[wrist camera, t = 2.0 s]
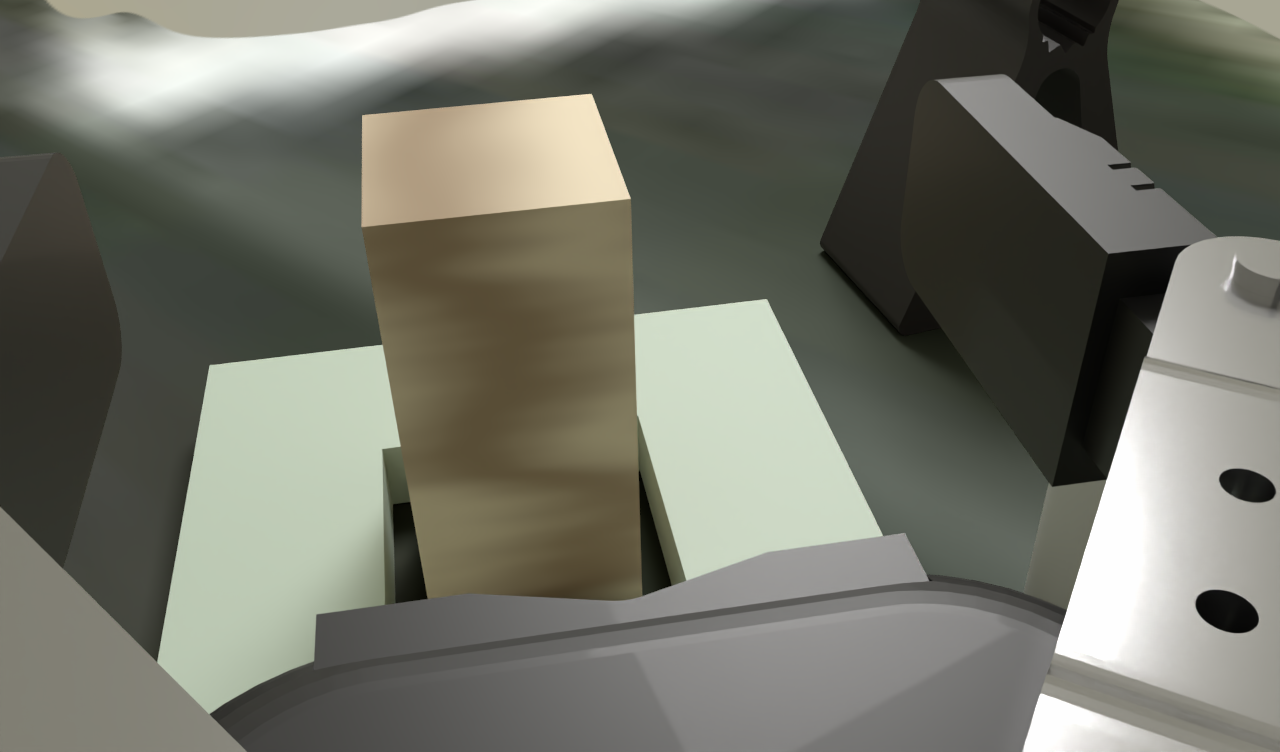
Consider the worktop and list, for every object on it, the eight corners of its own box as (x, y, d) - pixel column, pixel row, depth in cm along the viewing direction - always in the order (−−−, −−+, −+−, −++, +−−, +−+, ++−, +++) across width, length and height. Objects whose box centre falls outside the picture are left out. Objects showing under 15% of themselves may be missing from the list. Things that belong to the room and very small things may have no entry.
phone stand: (1033, 208, 47) (1094, -118, 40) (1130, 286, 42) (1219, -67, 35) (818, 250, 45) (843, -87, 38) (896, 337, 40) (941, -28, 33)
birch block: (610, 499, 34) (591, 93, 27) (643, 633, 30) (630, 198, 23) (430, 524, 34) (362, 115, 26) (439, 664, 30) (361, 226, 22)
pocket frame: (764, 351, 40) (766, 299, 39) (970, 799, 26) (983, 740, 25) (224, 418, 37) (209, 365, 36) (145, 945, 24) (117, 888, 23)
